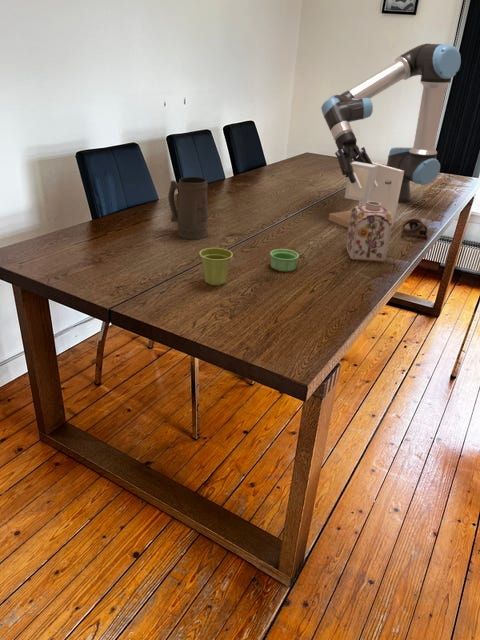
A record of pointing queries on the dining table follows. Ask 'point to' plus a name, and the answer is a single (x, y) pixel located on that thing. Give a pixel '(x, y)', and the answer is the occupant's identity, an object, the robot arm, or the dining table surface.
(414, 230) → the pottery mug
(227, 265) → the plant pot
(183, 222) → the beer stein
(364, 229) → the decorative jar
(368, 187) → the white block
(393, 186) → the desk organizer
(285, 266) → the ramekin
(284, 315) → the dining table surface
